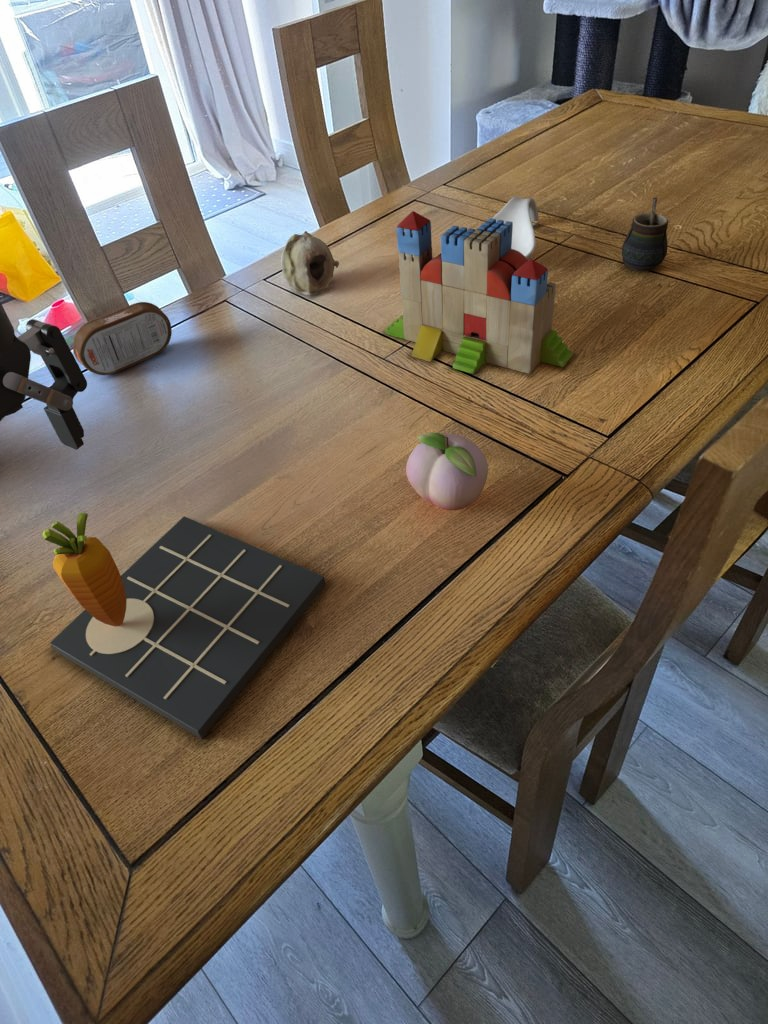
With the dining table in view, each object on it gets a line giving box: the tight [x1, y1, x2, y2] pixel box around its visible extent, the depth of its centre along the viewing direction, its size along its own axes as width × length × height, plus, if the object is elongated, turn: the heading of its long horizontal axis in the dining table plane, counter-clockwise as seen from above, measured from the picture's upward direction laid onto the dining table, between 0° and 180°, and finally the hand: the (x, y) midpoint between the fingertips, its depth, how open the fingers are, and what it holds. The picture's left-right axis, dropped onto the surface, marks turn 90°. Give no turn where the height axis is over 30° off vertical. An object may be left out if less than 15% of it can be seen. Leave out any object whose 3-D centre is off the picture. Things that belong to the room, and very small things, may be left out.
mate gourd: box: [621, 197, 669, 273], centre depth 115 cm, size 7×8×10 cm
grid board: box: [49, 515, 327, 740], centre depth 72 cm, size 20×20×2 cm
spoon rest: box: [492, 196, 539, 261], centre depth 124 cm, size 24×12×7 cm, turn 158°
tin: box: [72, 301, 172, 376], centre depth 106 cm, size 15×3×8 cm, turn 130°
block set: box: [384, 210, 574, 375], centre depth 98 cm, size 28×14×19 cm, turn 56°
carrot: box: [42, 512, 127, 626], centre depth 65 cm, size 5×5×15 cm
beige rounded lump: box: [280, 230, 340, 296], centre depth 119 cm, size 9×8×10 cm
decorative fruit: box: [405, 431, 489, 511], centre depth 78 cm, size 9×8×10 cm
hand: (32, 476), depth 56 cm, fingers open, 8 cm apart
